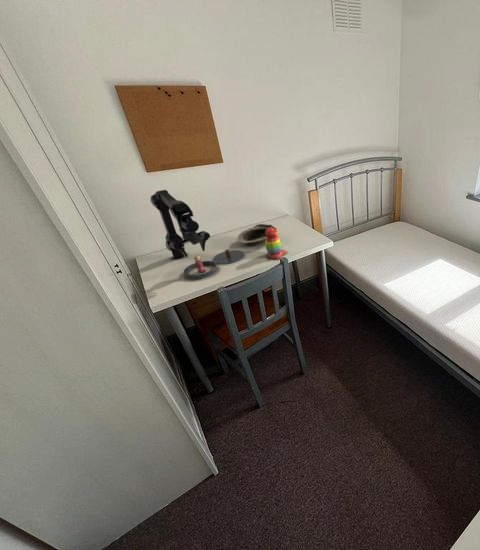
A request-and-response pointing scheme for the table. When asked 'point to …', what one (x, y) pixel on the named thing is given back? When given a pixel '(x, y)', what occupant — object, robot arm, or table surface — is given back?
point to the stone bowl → (254, 235)
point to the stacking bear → (273, 244)
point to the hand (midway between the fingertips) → (195, 254)
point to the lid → (228, 257)
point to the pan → (204, 275)
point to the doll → (199, 264)
